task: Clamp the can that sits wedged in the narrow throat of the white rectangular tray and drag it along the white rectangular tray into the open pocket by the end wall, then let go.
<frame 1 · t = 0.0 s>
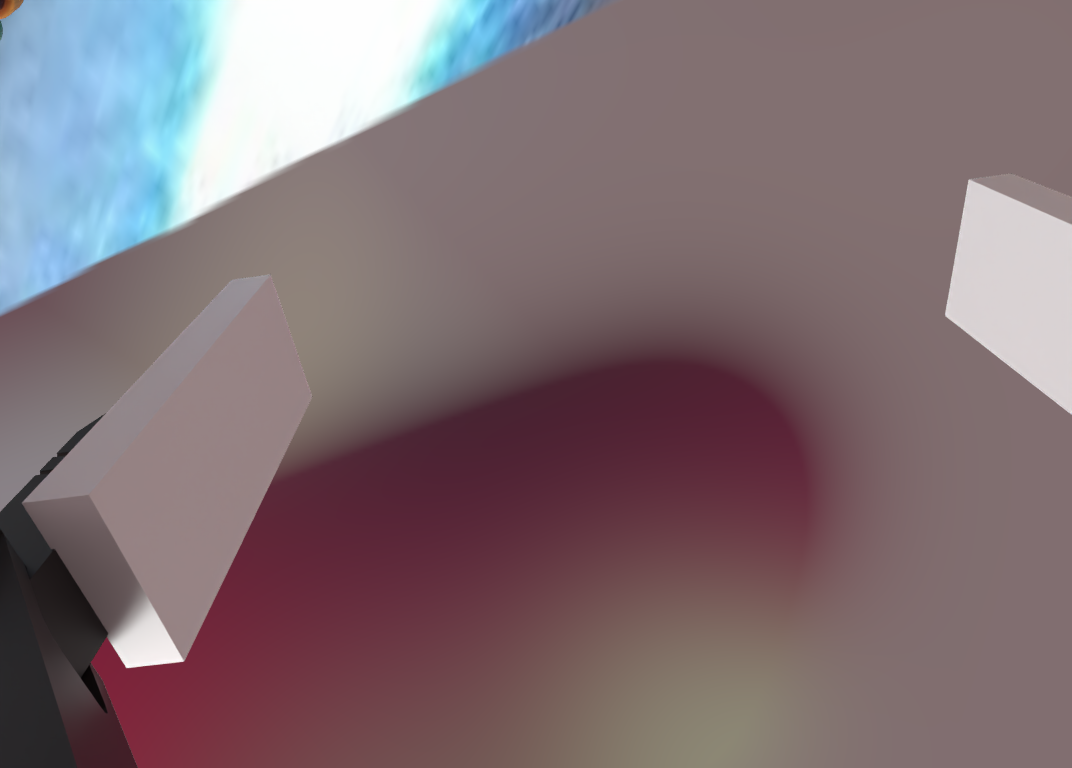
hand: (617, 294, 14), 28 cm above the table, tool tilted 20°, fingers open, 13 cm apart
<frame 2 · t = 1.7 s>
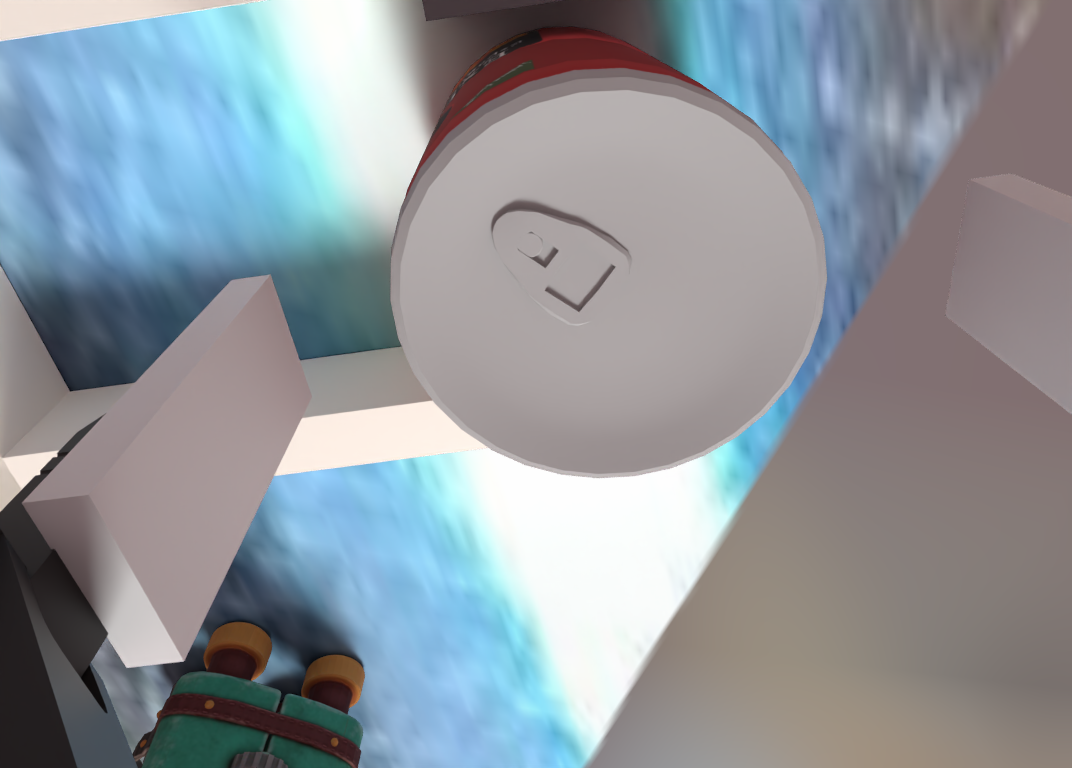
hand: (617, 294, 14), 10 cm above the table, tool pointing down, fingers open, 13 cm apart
binoculars: (270, 688, 34), on the table
canned food: (563, 161, 22), on the table
white rectangular tray: (374, 190, 22), on the table
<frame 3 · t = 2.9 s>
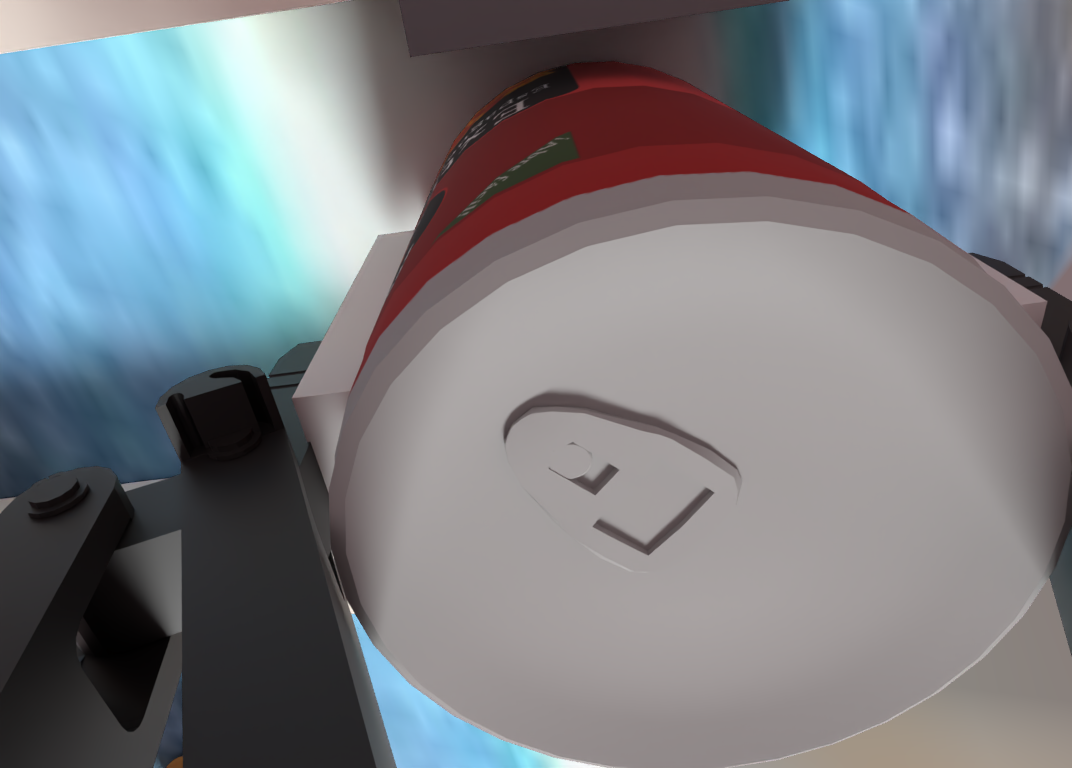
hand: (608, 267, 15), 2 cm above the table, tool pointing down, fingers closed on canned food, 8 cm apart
canned food: (596, 230, 17), on the table, touching gripper
white rectangular tray: (351, 265, 17), on the table
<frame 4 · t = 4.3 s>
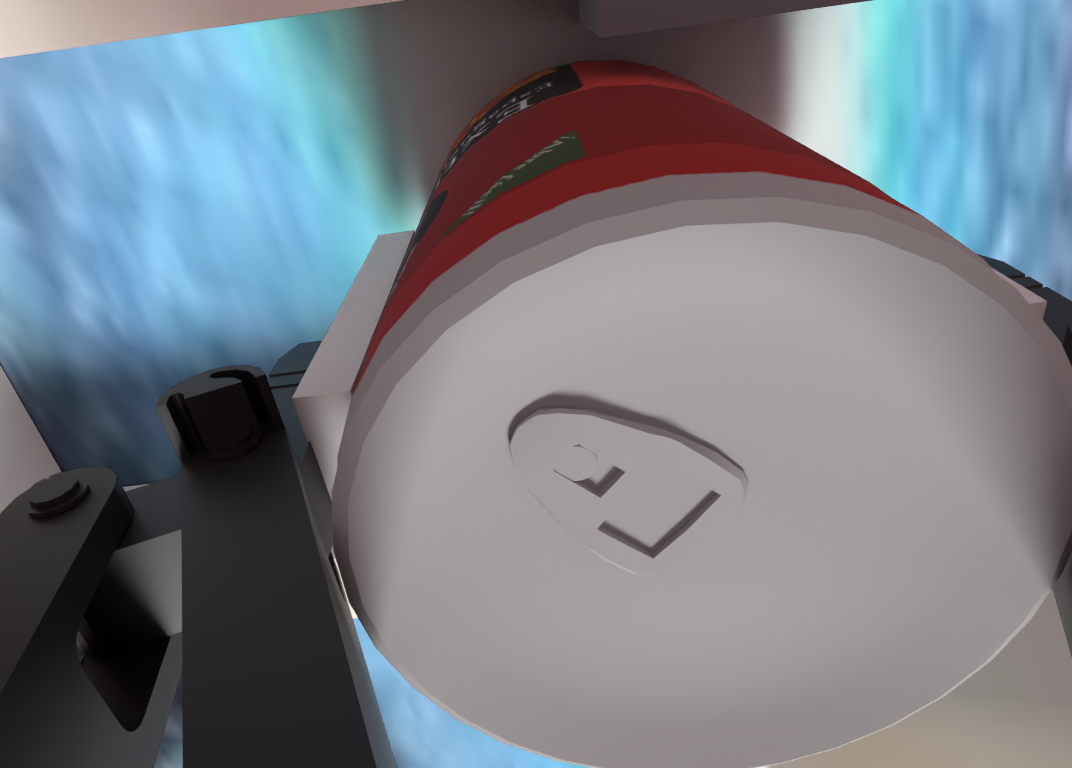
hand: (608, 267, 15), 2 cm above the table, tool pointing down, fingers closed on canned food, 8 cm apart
canned food: (598, 230, 17), on the table, touching gripper
white rectangular tray: (473, 253, 17), on the table
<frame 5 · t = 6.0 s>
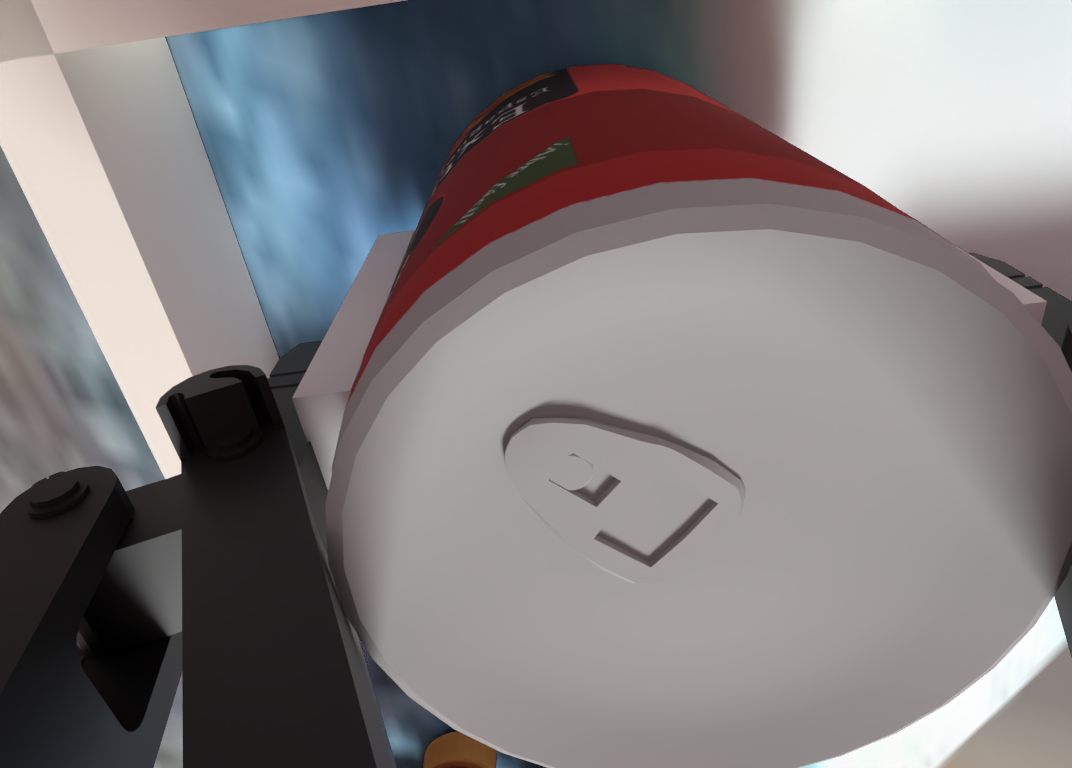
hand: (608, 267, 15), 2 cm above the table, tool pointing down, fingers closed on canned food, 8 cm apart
canned food: (597, 234, 17), on the table, touching gripper
white rectangular tray: (767, 215, 17), on the table
when the fingers open (2 cm above the table, at t = 6.9 s): canned food stays where it is, on the table.
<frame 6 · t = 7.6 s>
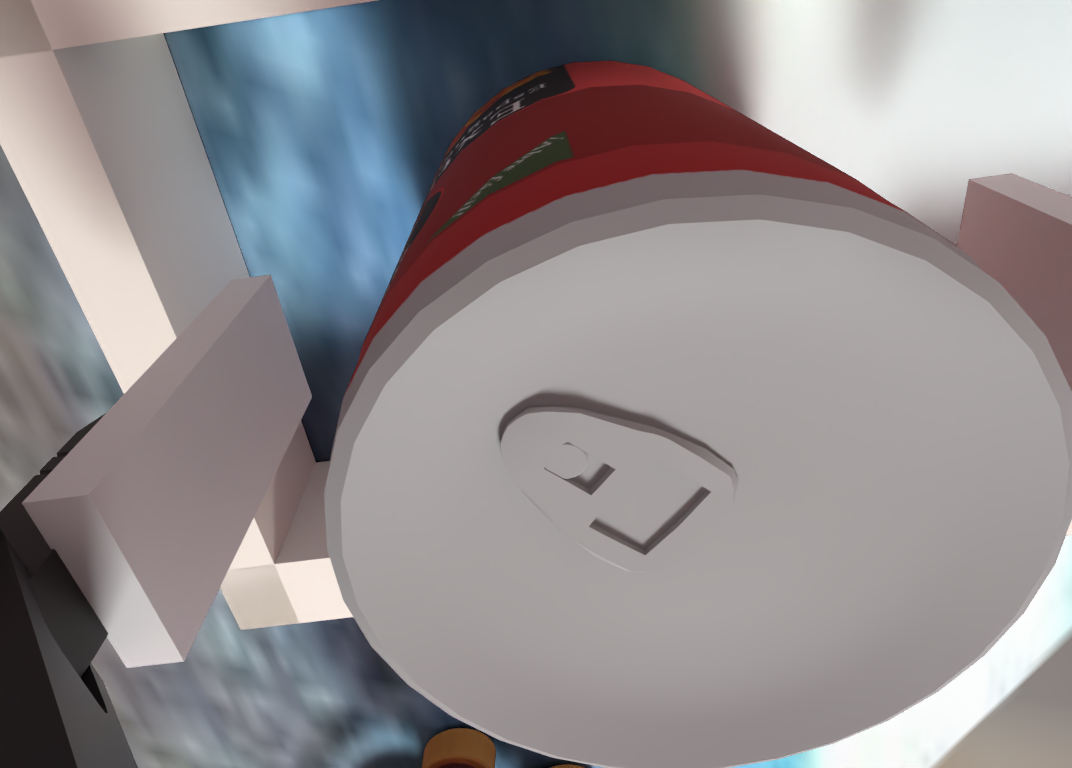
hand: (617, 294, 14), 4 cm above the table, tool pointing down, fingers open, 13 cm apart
canned food: (595, 230, 17), on the table
white rectangular tray: (765, 211, 17), on the table
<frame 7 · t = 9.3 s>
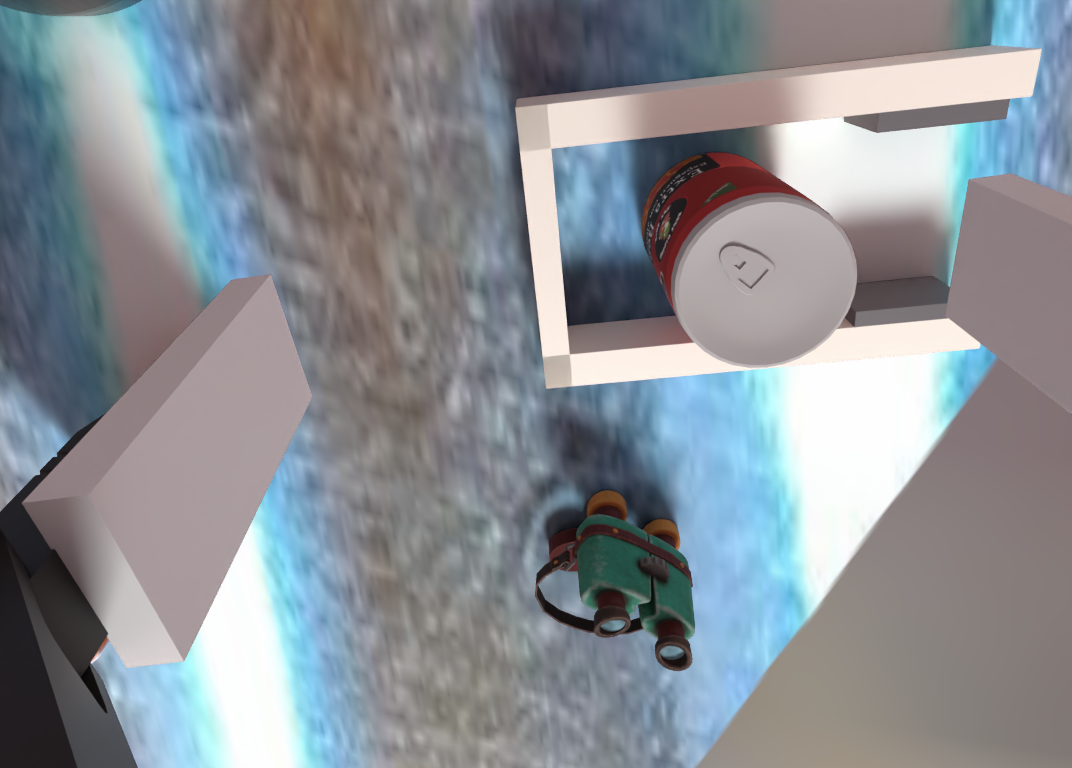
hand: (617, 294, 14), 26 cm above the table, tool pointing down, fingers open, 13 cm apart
binoculars: (607, 545, 51), on the table
canned food: (708, 219, 40), on the table
white rectangular tray: (781, 213, 39), on the table
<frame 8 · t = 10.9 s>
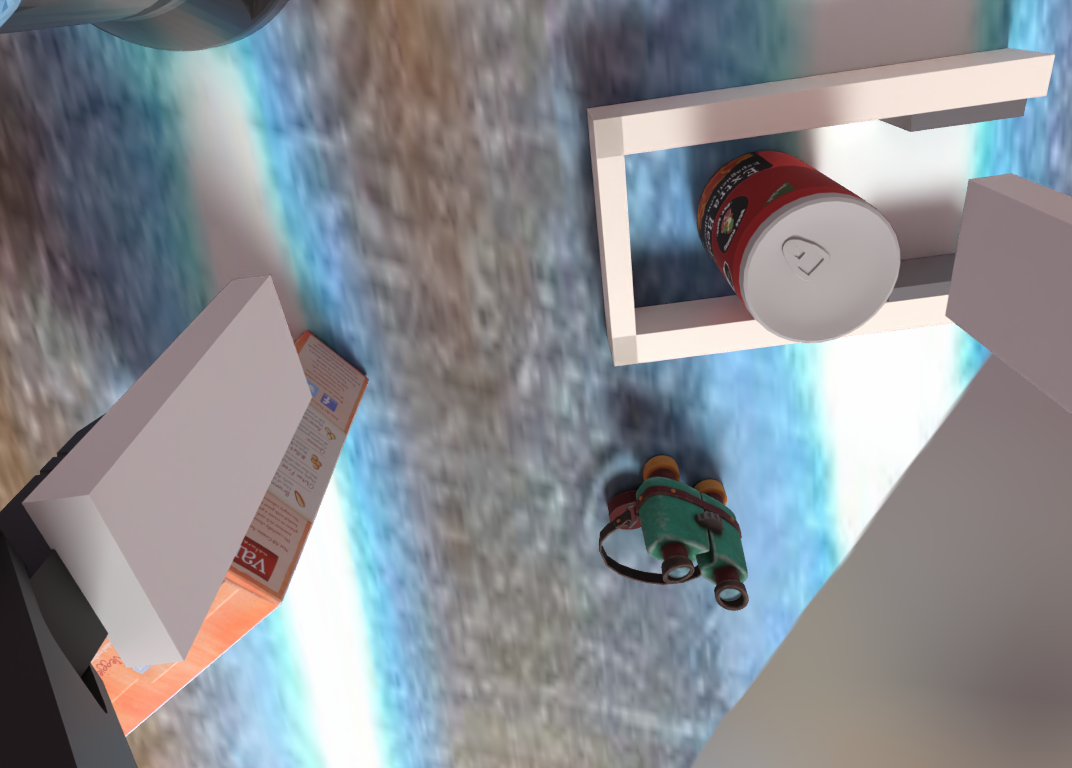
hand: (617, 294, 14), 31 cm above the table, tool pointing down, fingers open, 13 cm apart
binoculars: (660, 505, 56), on the table
canned food: (754, 209, 44), on the table
cracker box: (278, 410, 51), on the table
white rectangular tray: (820, 202, 44), on the table
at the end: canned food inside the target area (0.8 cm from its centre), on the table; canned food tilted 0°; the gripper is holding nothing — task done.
